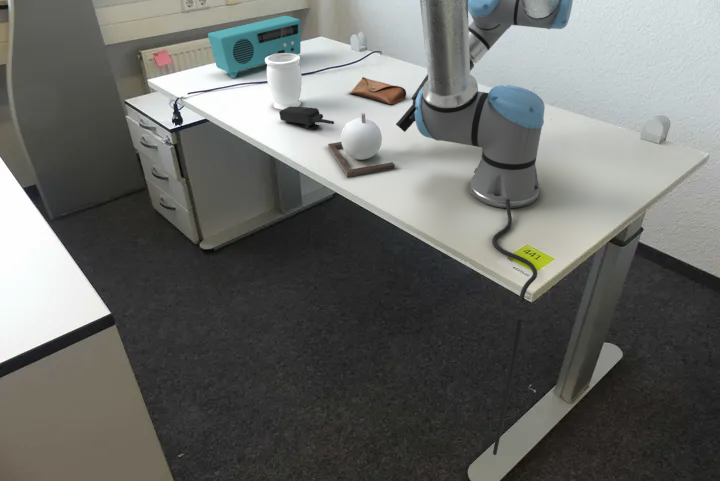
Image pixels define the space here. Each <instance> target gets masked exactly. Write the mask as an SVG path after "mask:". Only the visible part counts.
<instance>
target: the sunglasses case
mask: <svg viewBox="0 0 720 481" xmlns="http://www.w3.org/2000/svg"><path fill="white" fill-rule="evenodd" d="M348 93H349V95H353V96H358V97H362V98H365V99H368V100H372V101H375V102H378V103H382V104H387V105H395V104H398V103H401V102H402V101H405V100H406V97H407V90H406V89H405V88H404V87H403V86H399V85H392V84H389V83H386V82H382V81H378V80H374V79H370V78H366V77H364V76H363V77H361V79H360V81H359V82H358V83H357V84H356V85H355V87H354V88H352V90H351V91H350V92H348Z"/></svg>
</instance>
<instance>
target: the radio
mask: <svg viewBox="0 0 720 481" xmlns="http://www.w3.org/2000/svg"><path fill="white" fill-rule="evenodd" d="M301 22H302V21H301V20H300V19H299V18H295V17H292V16H288V15H283V16H279V17H274V18H269V19H264V20H261V21H255V22H251V23H248V24H243V25H238V26H233V27H229V28H225V29H221V30H216V31H211V32H208V33H207V37H208V40H209V45H210V48H211V51H212V55H213V58H214V62H215V66H216V67H217V69H220V70H222V71H225V72H226V73H227V75H228V76H230V77H231V78H232V79H236V78H237V75H238V72H240V71H244V70H247V69H251V68H254V67H255V68H256V67H258V66H262V65H267V64H266V63H265V58H266V57H268V56H270V55H274V54H280V53H292V54H296V55H298V56H299V55H300V54H301V37H302V36H301V33H302V32H301V28H302V27H301Z"/></svg>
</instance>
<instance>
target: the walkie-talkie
mask: <svg viewBox="0 0 720 481" xmlns="http://www.w3.org/2000/svg"><path fill="white" fill-rule="evenodd" d="M278 115H279V118H280V121H282V122H283V121H284V122H289V125H293V126H296V127H300V128H304V129H307V130H314V129H318V128H319V127H320V125H319V124H317V123H322V124H328V125H330V124H331V125H334V124H335V121H334V120H330V119H325V118H324V115H323V113H320V110H319V109H318V108H317V107H307V106H299V107H291V106H290V107H287V108H285V109H283V110H279V114H278Z"/></svg>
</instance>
